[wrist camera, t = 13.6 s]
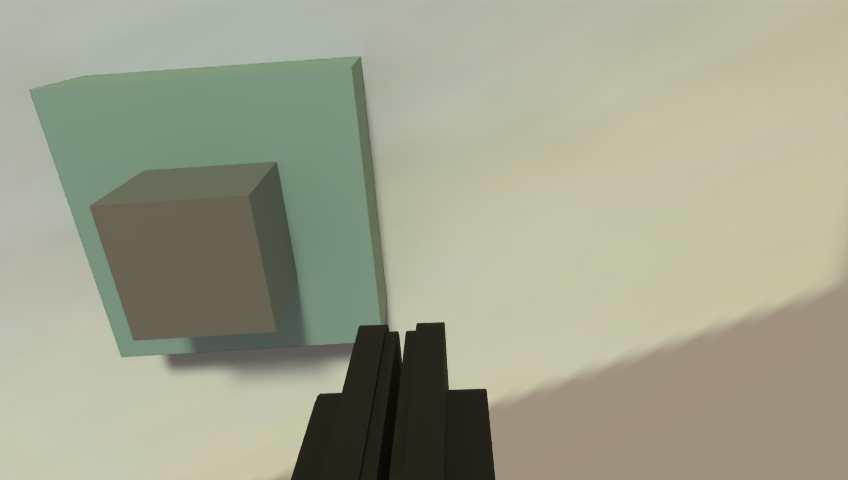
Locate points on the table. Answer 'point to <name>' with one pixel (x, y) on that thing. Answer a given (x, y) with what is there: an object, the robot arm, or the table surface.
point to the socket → (225, 145)
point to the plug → (199, 250)
